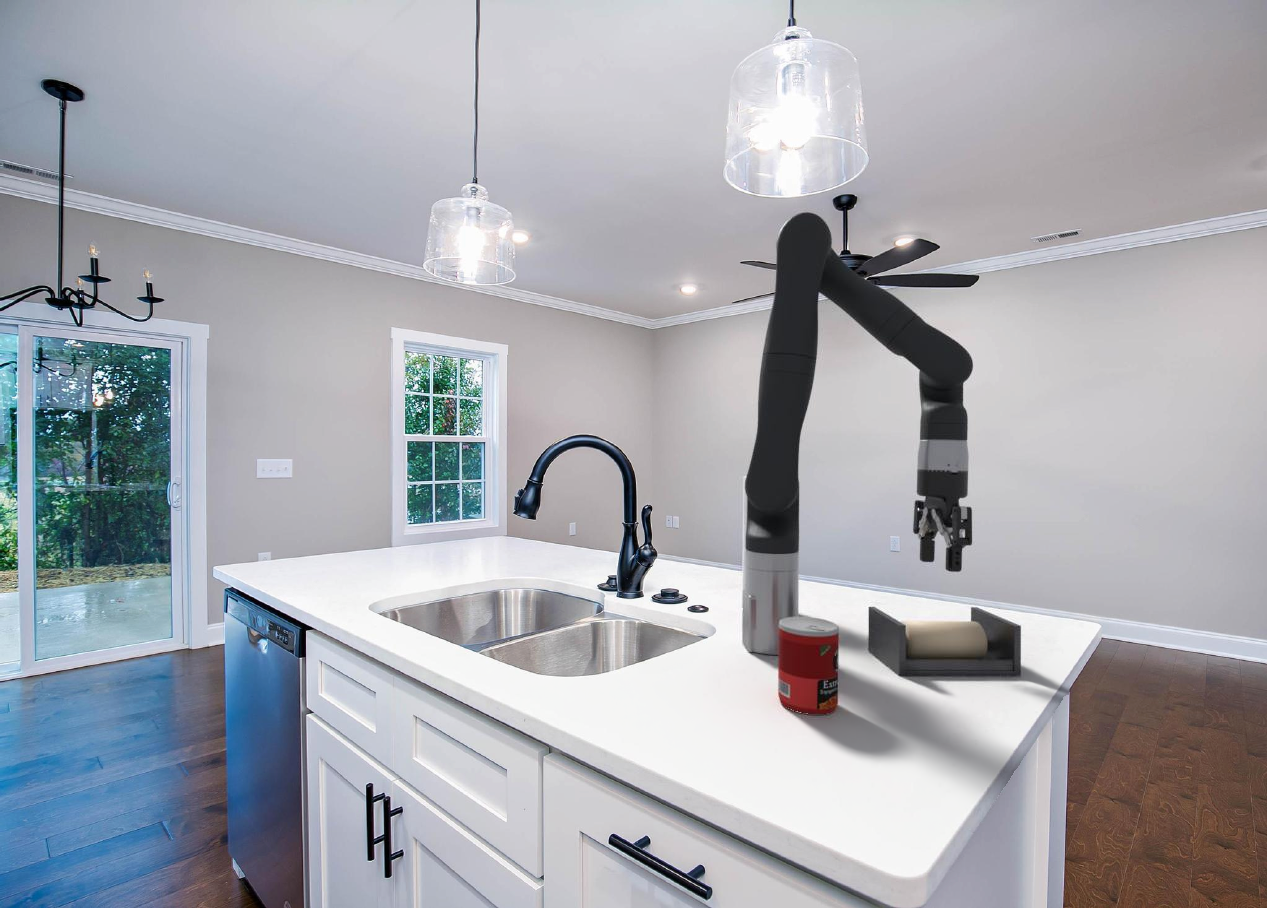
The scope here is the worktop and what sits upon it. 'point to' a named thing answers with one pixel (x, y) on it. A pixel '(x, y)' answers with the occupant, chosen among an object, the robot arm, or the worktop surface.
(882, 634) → the roll holder
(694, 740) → the worktop surface
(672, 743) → the worktop surface
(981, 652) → the cylinder
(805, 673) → the canned food
